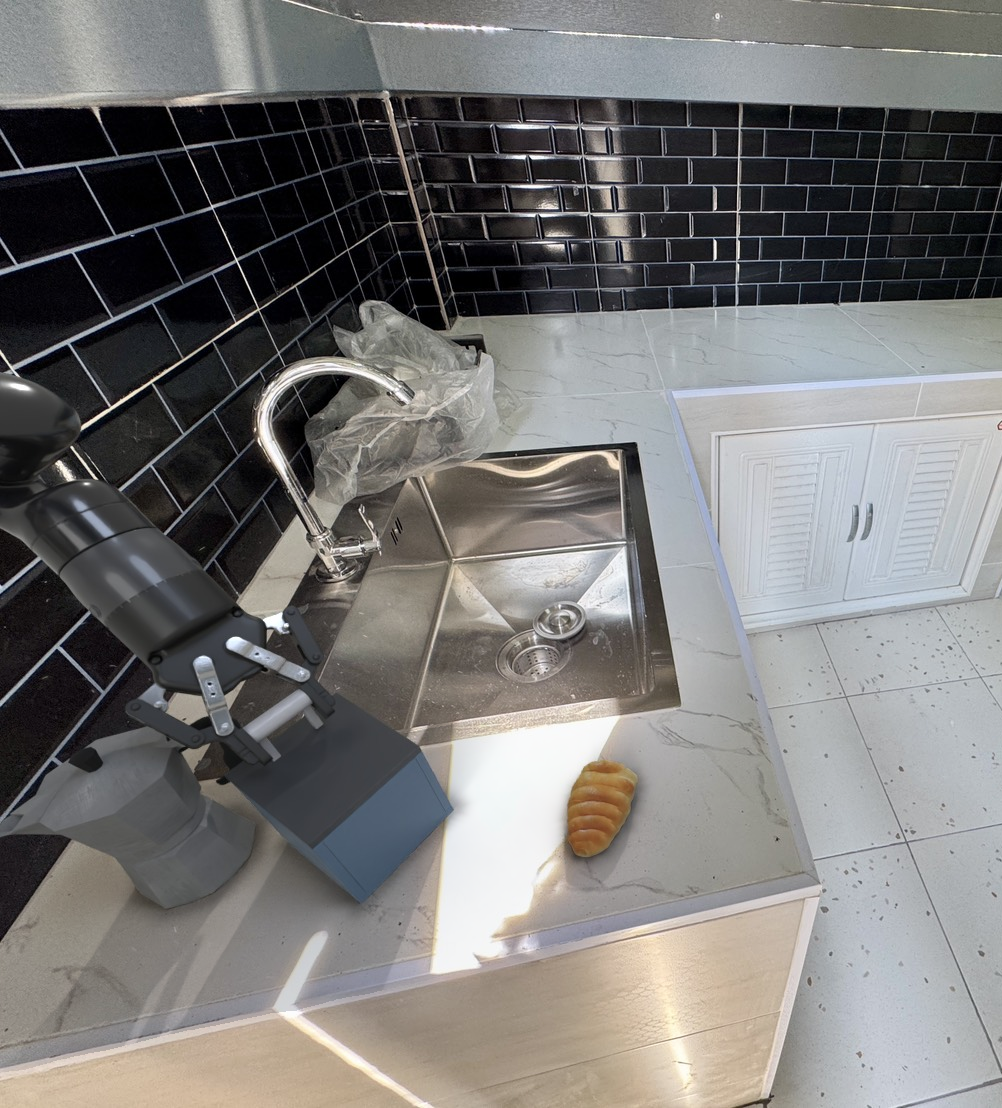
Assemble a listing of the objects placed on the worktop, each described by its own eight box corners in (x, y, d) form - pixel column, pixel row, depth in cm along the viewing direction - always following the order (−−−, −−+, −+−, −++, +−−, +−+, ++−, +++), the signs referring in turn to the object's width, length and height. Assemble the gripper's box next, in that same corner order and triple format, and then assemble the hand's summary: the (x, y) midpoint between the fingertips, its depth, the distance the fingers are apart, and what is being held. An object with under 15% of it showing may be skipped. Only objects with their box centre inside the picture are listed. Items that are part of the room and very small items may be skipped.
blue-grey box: (287, 842, 60) (233, 784, 54) (382, 760, 68) (344, 700, 61) (361, 904, 56) (312, 849, 49) (454, 809, 63) (422, 751, 57)
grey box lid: (228, 780, 54) (193, 743, 50) (339, 696, 61) (316, 660, 58) (312, 849, 49) (281, 815, 46) (422, 750, 57) (402, 714, 53)
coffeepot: (124, 952, 53) (-38, 857, 41) (108, 873, 58) (-41, 769, 46) (317, 829, 61) (226, 723, 50) (288, 770, 66) (199, 661, 55)
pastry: (620, 864, 59) (615, 846, 57) (553, 857, 60) (546, 839, 57) (641, 777, 67) (638, 758, 64) (581, 772, 67) (576, 752, 65)
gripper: (241, 562, 59) (365, 690, 62) (54, 658, 49) (213, 805, 52) (245, 535, 53) (380, 677, 57) (37, 637, 44) (215, 802, 47)
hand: (299, 737), depth 54 cm, fingers closed on grey box lid, 5 cm apart
